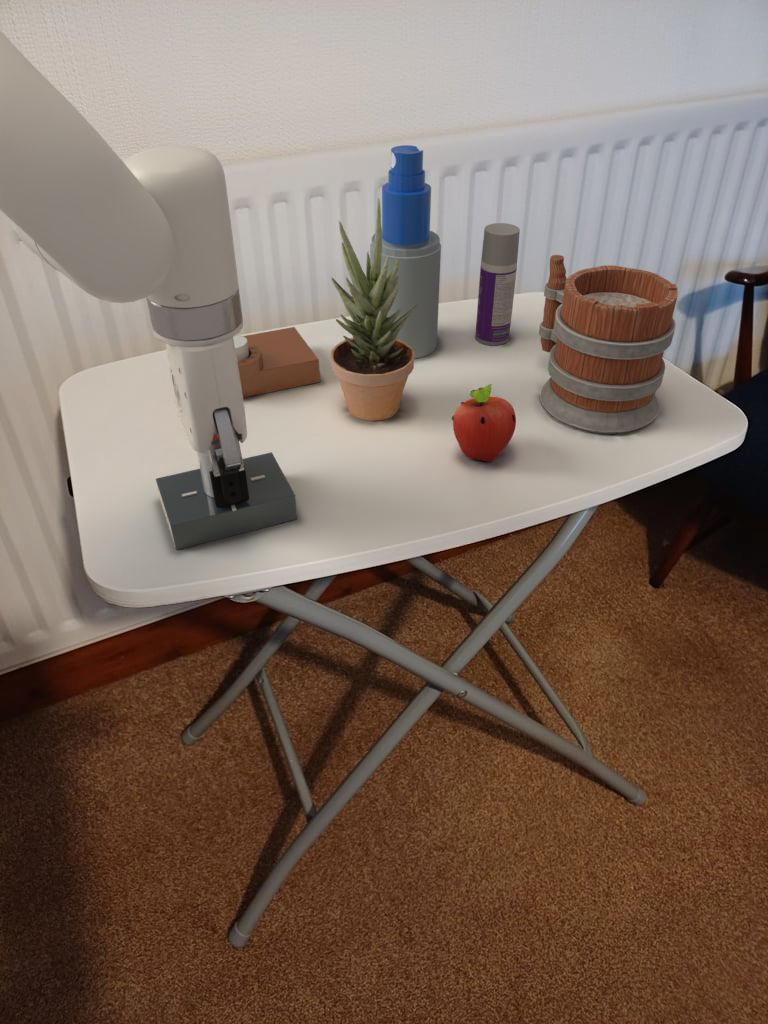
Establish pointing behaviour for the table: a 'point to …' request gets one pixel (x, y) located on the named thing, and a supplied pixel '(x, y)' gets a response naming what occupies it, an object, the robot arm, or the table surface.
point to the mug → (605, 345)
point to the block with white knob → (277, 362)
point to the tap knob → (207, 468)
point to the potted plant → (371, 336)
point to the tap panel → (204, 522)
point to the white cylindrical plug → (241, 347)
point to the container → (497, 283)
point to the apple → (484, 425)
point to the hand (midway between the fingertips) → (224, 483)
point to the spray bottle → (411, 248)
